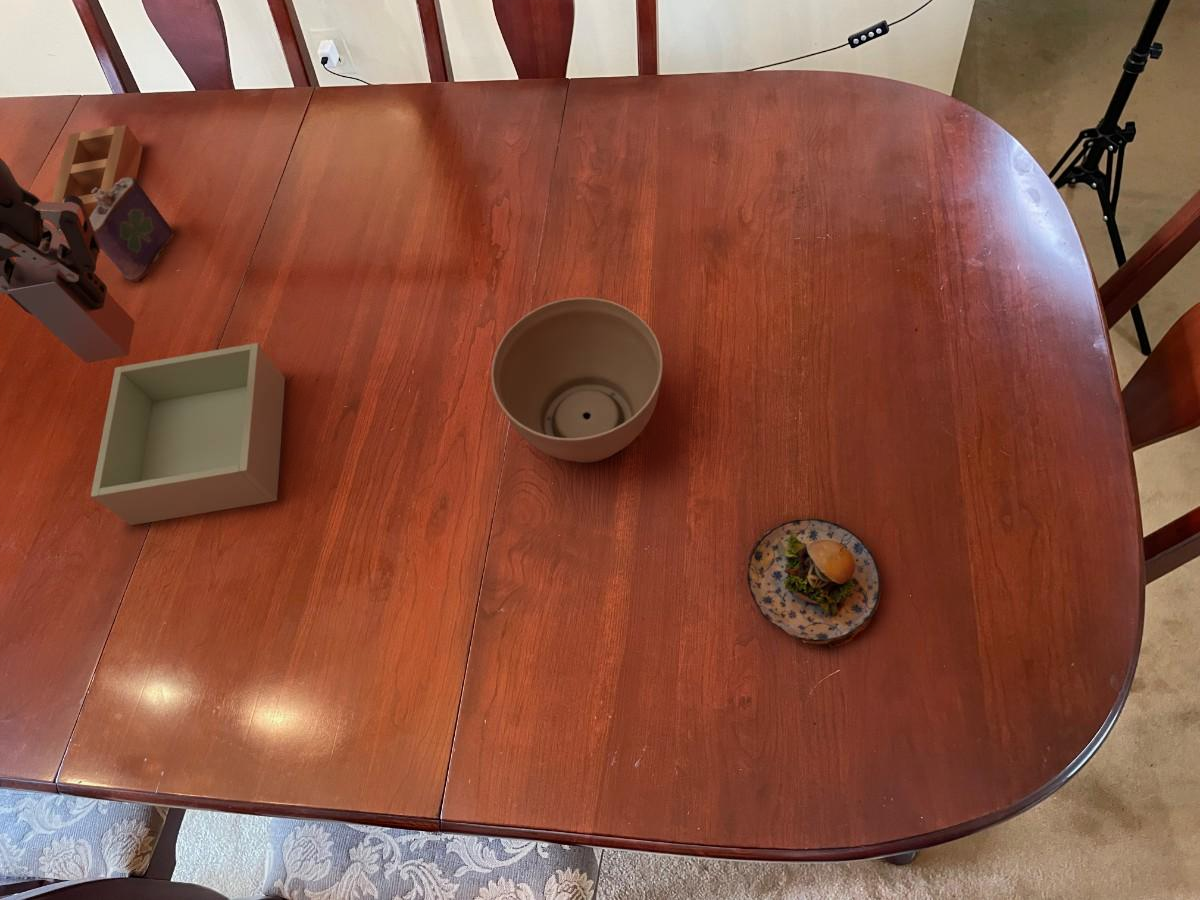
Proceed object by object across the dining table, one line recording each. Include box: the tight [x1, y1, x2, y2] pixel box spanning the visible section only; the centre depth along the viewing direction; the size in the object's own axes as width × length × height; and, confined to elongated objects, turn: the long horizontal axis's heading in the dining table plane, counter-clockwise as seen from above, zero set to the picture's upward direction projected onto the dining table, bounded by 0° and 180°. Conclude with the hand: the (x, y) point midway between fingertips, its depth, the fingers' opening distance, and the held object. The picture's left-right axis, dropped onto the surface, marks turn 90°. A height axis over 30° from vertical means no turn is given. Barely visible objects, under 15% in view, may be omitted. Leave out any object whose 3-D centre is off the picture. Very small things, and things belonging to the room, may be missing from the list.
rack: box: [50, 123, 144, 218], centre depth 113 cm, size 8×14×4 cm, turn 8°
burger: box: [746, 517, 882, 649], centre depth 74 cm, size 12×12×8 cm
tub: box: [90, 342, 286, 526], centre depth 89 cm, size 16×16×7 cm
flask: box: [89, 177, 174, 283], centre depth 103 cm, size 9×3×11 cm, turn 163°
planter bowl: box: [490, 296, 664, 463], centre depth 84 cm, size 16×16×11 cm
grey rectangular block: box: [7, 255, 136, 364], centre depth 73 cm, size 4×4×10 cm
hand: (74, 305), depth 72 cm, fingers closed on grey rectangular block, 4 cm apart
